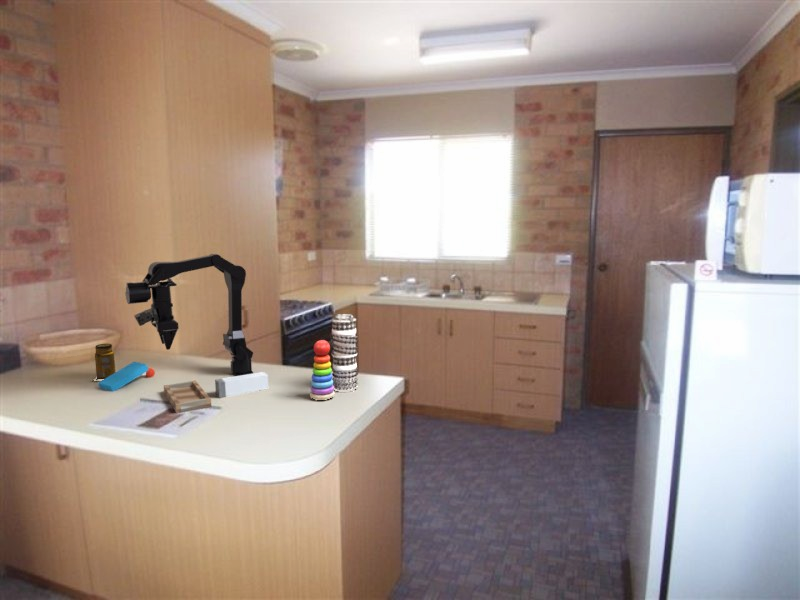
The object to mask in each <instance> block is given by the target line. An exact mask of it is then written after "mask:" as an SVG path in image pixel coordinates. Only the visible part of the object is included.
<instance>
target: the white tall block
mask: <svg viewBox="0 0 800 600" xmlns="http://www.w3.org/2000/svg"><path fill="white" fill-rule="evenodd" d="M214 382H215V384H214V386H215V395H216V396H217V398H218V399H223V398H230V397H235V395H236V396H240V394H241V395H245V393H247V394H251V393H250V392H252V393H256V392H255V391H258V392H260V391H259V390H264V389H269V375H268V374H267V373H266V372H265V371H260V372H253V374H246V375H240V376H235V375H233V376H229V377H223V378H216V379H215V380H214ZM264 391H265V390H264Z"/></svg>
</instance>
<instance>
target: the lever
mask: <svg viewBox="0 0 800 600" xmlns="http://www.w3.org/2000/svg"><path fill="white" fill-rule="evenodd" d="M154 375H156V371H155V370H154V369H153V368H152V367H151V368H150V367H148V365H147V363H141V362H137V361H132V362H131V363H129V364H127V365H126V366H124V367H122V368H120V369H119V370H117V371H115V373H114V374H112V375H110V376H109V377H107V378H105V379H104V380H102V381H100V382H97V385H98V387H99V389H101V388H102V389H101V390H105V389H106V390H105V391H109V390H110V391H109V392H115V391H117V390H119V389H121V388H122V387H124V386H125V385H127V384H129V383H131V382H132V381H134V380H135V379H136V378H138V377H141V376H144V377H146V378H153V377H154Z"/></svg>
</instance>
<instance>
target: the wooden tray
mask: <svg viewBox="0 0 800 600" xmlns="http://www.w3.org/2000/svg"><path fill="white" fill-rule="evenodd" d="M163 394H164V396H166V398H167V400H168V402H169V404H170V405H171V407H172V406H173V407H172V408H173V409H174V412H175V413H176V414H178V413H185V411H186V412H191V411H197V410H200V409H207V408H211V407H212V398H211V397H210V395H208V394H207V393H206V391H205V390H204V389H203V388H202V386H201V385H200V384H199V383H198V382H197V380H191V381H184V382H178V383H171V384H166V385H163Z"/></svg>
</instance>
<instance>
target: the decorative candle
mask: <svg viewBox="0 0 800 600" xmlns="http://www.w3.org/2000/svg"><path fill="white" fill-rule="evenodd" d="M331 321H332V329H331V331H330V332H329V334H330V336H329V338H330V340H331V342H330V345H331V346H330V350H332V351H331V357H332V359H333V361H332V368H331V369H332V372H331V374H332V376H333V377H332V380H333V386H334V388H335V389H337V390H352V389H354V388H356V387H358V385H359V382H358V380H359V377H358V374H359V373H358V372H357V371H358V370H359V368H358V365H357V363H358V362H357V355H358V353H359V351H358V350H357V349H358V348H359V347H358V346H357V344H358V343H359V340H357V339H359V336H358V335H356V334H357V328H356V326H357V324H356V321H357V318H355V317H354V316H353V314H351V313H340V314H339V313H338V314H336V315H334V317H333V318H332V319H331Z"/></svg>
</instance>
